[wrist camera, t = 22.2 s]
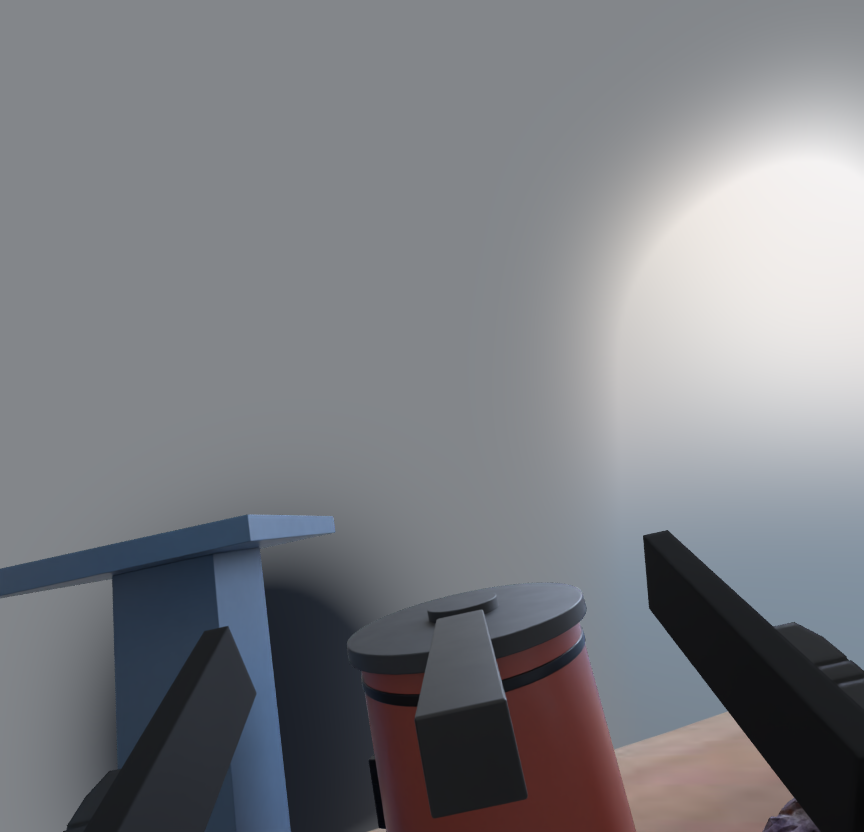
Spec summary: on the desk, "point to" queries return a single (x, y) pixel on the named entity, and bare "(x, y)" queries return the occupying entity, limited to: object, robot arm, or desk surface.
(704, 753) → the desk surface
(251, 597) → the stand
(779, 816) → the rock
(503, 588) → the lid
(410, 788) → the red banded canister
